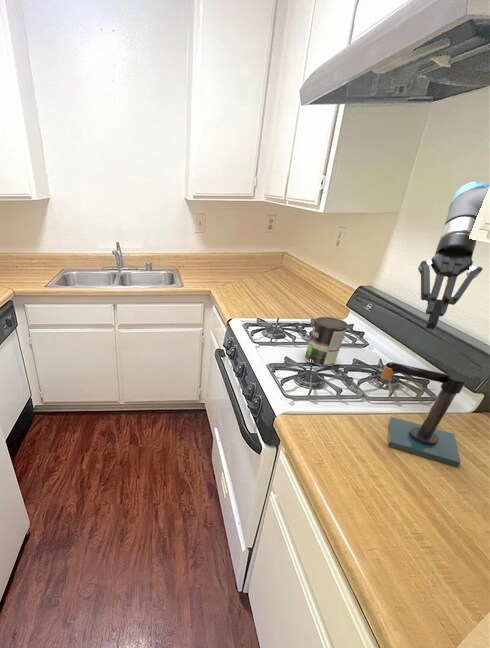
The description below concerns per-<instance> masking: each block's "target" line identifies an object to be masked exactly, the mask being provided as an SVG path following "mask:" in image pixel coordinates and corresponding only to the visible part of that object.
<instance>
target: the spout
mask: <svg viewBox="0 0 490 648" xmlns="http://www.w3.org/2000/svg"><path fill="white" fill-rule="evenodd" d="M394 373H398V374H402V375H406V376H411V377H416V378H419V379H424V380H429V381H433V382H436V383H437V382H438V383H441V385H440V389H443V390H444V391H447V392H449V393H454V394H456V395H457V394H460V393H461V392H462V390H463V388H464V386H465V385H466V383H467V382H468V380H467V378H466V377H465V376H462V375H459V374H456V373H443V372H438V371H433V370H429V369H425V368H419V367H415V366H410V365H406V364H401V363H397V362H394V361H393V362H391V361H388V362H387V363H386V364H385V365H384V367H383V369H382V371H381V373H380V376H379V377H380V378H381V379H382V380H386V381H390V380H391V379H392V377H393V375H394Z"/></svg>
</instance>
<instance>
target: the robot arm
mask: <svg viewBox="0 0 490 648" xmlns="http://www.w3.org/2000/svg"><path fill="white" fill-rule="evenodd" d="M489 186H490V183H488V182H486V181H483V180H482V181H471V182H468V183H466V184H464V185H462V186H461V187H459V188H458V190H456V192H455V193H454V195H453V197H452V200H451V203H450V204H449V207H448V211H447V216H446V219H445V222H444V225H443V228H442V232H441V234H440V238H439V241H438V243H437V247H436V250H435V252H434V256H433V257H432V258H431V259H429V260H427V261H426V260H422V261H421V262H420V264H419V266H417V267H418V268H417V270H418V272H419V274H420V300H421V301H426V302H427V303H426V304H427V306H426V309H425V315H429V316H428V319H427V322H426V325H425V329H429V330H434V329H435V327H437V325H438V323H439V319H440V317H444V315H445V314H446V313H447V311H448V307H449V305H452V306H454V305H456V304H457V303H458V302H459V301H460V299H461V298H462V296H463V295H464V293H465V292H466V290H467V288H468V287H469V286H470V284H471V283H472V281H473V280H474V279H475V278H477V277H478V276H479V274H481V272H482V271H483V267H482V266H478V267H476V266H475V265H473V263H474V260H473V254H474V252H475V249H476V245H477V241H478V239H477V240H472V239H469V235H470V233H471V231H472V228H473V225H474V223H475V220H476V217H477V215H478V213H479V210H480V208H481V206H482V203H483V200H484V198H485V196H486V194H487V191H488V188H489ZM431 268H432V270H433V271H434V274H435V278H434V283H433V286H432V289H431ZM466 271H467V272H466ZM465 272H466V278H465V279H464V280H463V282H462V283H461V284H460V286H459V288H458V290H457V291H456V292H455V294H454V295H453V292H454V289H455V286H456V282H457V278H458V276H460V275H461V274H463V273H465ZM445 277H446V278H447V280H446V284H445V288H444V291H443V294H442V298H441V299H438V298H439V295H440V293H441V289H442V286H443V282H444V279H445Z"/></svg>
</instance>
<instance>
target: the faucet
mask: <svg viewBox="0 0 490 648" xmlns="http://www.w3.org/2000/svg"><path fill="white" fill-rule="evenodd" d="M456 395H457V394H454V393H449V392H447V391H444V390H443V389H442V388H440V391H439V393H438V395H437V397H436V398H435V399H434V402H433V404H432V405H431V407H430V409H429V411H428V413H427V415H426V416H425V418H424V420H423V422H422V424H420V423H416V422H412V421H409V420H405V419H402V418H398V417H395V416H390V417H389V419H388V426H387V427H388V430H387V447H390V448H392V449H396V450H399V451H403V452H405V453H409V454H412V455H414V456H419V457H422V458H426V459H429V460H431V461H435V462H438V463H442V464H445V465H448V466H452V467H454V468H459V466H460V465H461V463H462V461H461V458H460V453H459V449H458V444H457V440H456V435H455V433H453V432H449V431H446V430H443V429H442V430H441V429H438V426H439V425H440V423H441V421H442V420H443V418H444V417H445V415H446V413H447V411H448V409H449V408H450V406H451V405H452V403H453V402H454V399H455V397H456Z"/></svg>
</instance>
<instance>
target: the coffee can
mask: <svg viewBox="0 0 490 648" xmlns="http://www.w3.org/2000/svg"><path fill="white" fill-rule="evenodd" d="M348 327H349V324H348V323H347V322H346V321H344V320H342V319H340V318H336V317H330V316H321V317H316V318H315V319H314V321H313V326H312V331H311V333H310V336H309V337H310V338H309V341H308V345H307V349H306V352H305V354H304V361H306V362H307V363H308V364H310V363H309V362H310V359H311V357H312V360H313V362H314V363H318V364H321V365H334V366H335V365H336V362H337V358H338V356H339V352H340V349H341V346H342V344H343V340H344V337H345V335H346V331H347V330H348Z"/></svg>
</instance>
